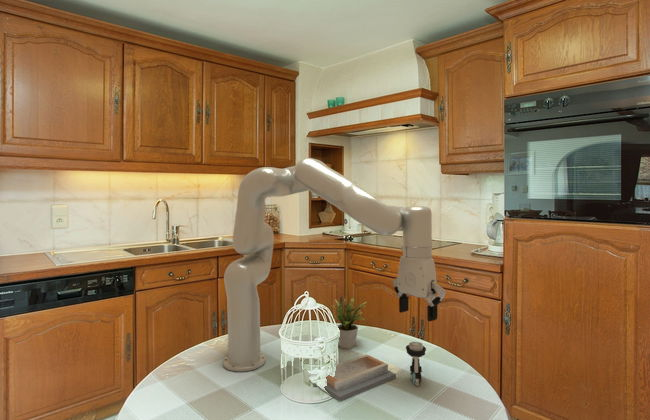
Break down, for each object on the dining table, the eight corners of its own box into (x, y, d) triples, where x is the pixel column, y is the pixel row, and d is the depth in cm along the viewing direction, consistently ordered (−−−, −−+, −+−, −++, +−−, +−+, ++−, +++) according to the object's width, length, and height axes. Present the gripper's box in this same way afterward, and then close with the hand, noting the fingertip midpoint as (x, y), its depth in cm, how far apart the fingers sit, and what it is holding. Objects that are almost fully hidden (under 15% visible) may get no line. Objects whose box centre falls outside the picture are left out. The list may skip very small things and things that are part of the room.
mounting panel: (309, 381, 107) (309, 377, 107) (363, 362, 119) (363, 358, 119) (339, 401, 97) (339, 396, 97) (395, 378, 109) (395, 373, 109)
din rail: (316, 378, 106) (316, 370, 106) (366, 361, 117) (366, 354, 117) (337, 392, 99) (337, 383, 99) (388, 372, 110) (388, 364, 110)
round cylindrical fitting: (427, 388, 104) (427, 350, 103) (406, 386, 104) (407, 349, 104) (424, 376, 110) (424, 341, 110) (405, 375, 111) (405, 340, 110)
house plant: (372, 356, 124) (372, 304, 123) (328, 355, 124) (328, 304, 123) (368, 338, 138) (368, 292, 137) (328, 338, 138) (328, 292, 137)
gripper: (384, 250, 110) (384, 311, 111) (435, 258, 96) (435, 327, 97) (402, 247, 115) (402, 306, 116) (453, 254, 101) (453, 320, 102)
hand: (417, 315), depth 106 cm, fingers open, 9 cm apart
